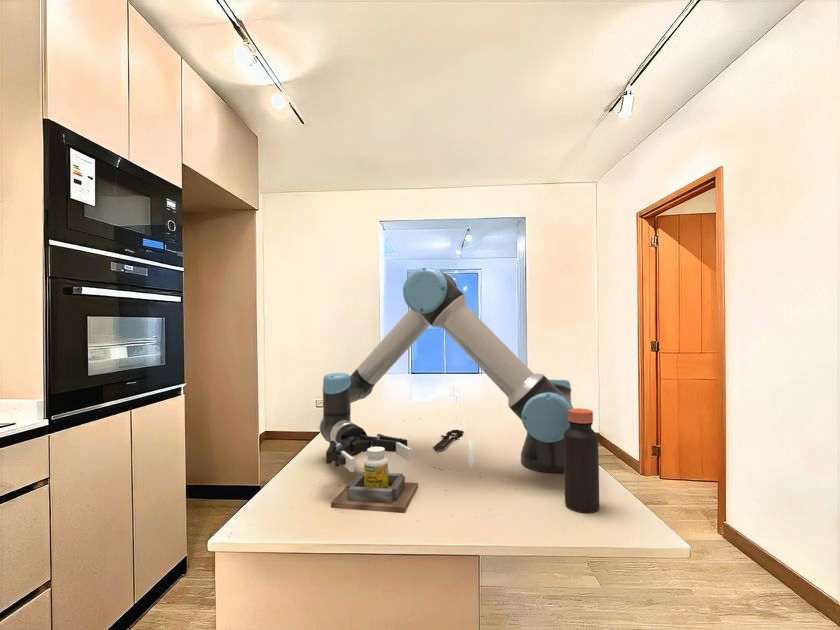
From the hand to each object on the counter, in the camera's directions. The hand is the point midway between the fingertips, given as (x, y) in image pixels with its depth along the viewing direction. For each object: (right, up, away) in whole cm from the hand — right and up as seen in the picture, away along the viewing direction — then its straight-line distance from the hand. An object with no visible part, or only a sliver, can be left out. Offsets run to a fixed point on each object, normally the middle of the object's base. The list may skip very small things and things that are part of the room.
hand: (382, 460), depth 95 cm
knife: (+18, -10, +47) cm, 51 cm away
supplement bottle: (-2, -8, +3) cm, 9 cm away
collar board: (-1, -9, +3) cm, 10 cm away
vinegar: (+42, -9, -4) cm, 43 cm away
